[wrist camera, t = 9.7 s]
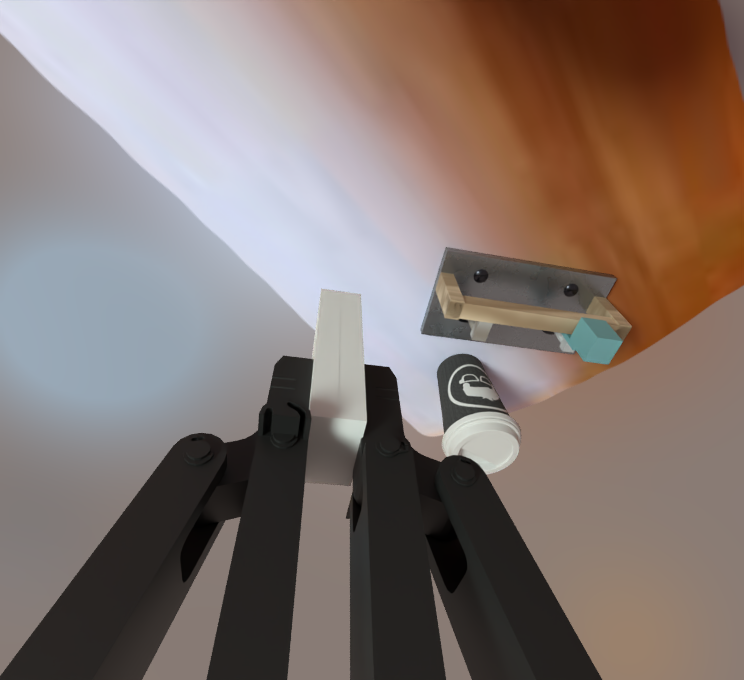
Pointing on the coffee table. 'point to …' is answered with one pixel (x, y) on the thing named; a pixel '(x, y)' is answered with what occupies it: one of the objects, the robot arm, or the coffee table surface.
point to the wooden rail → (519, 312)
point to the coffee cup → (475, 415)
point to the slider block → (591, 341)
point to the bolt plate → (514, 295)
